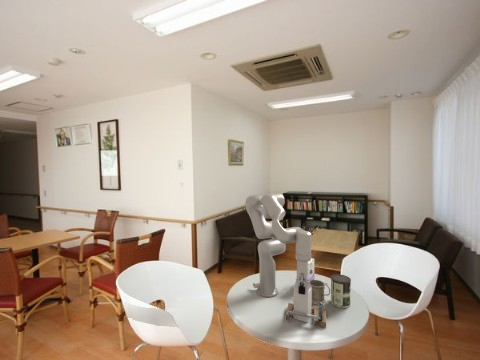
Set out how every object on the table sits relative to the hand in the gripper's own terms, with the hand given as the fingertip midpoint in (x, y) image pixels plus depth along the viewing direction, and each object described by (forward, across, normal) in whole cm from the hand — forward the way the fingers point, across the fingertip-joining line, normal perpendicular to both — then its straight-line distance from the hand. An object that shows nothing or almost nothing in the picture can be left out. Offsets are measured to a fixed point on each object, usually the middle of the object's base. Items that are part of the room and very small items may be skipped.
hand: (302, 289), depth 128 cm
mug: (+15, -17, +9) cm, 24 cm away
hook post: (+11, +6, +9) cm, 16 cm away
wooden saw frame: (+14, 0, +2) cm, 14 cm away
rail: (+14, +5, +2) cm, 15 cm away
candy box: (+15, -33, +1) cm, 36 cm away
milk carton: (+14, 0, 0) cm, 14 cm away
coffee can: (+14, -19, +20) cm, 31 cm away
